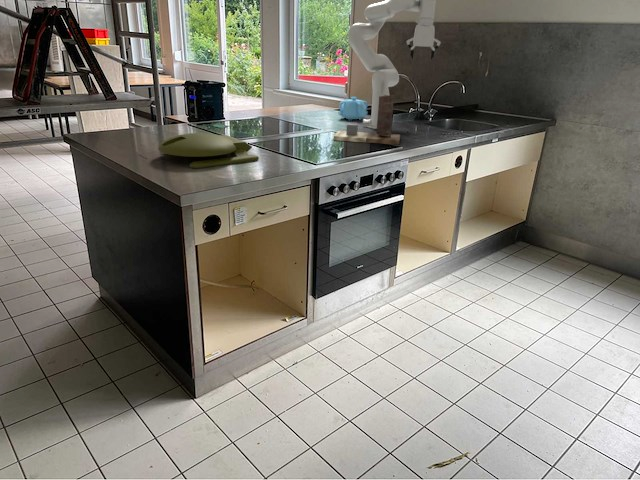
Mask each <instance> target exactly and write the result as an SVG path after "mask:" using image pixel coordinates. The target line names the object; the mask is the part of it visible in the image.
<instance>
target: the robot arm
mask: <svg viewBox="0 0 640 480" xmlns="http://www.w3.org/2000/svg"><path fill="white" fill-rule="evenodd" d="M436 2H437V0H384V1H380V2H377V3H373V4H370V5H368V6H367V7H366V8H365V10H364V12H363V13H364V18H365V19H366V20H367V21H368V23H366V22H365V23H364V22H356V23H354V24H352V25H351V26H350V28H349V31H348V37H347V38H348V39H347V40H348V43H349V45H350V47H351V49H352V50H353V51H354V52H355V54H356V55H357V57H358V58H359V60H360V62H361V63H362V65H363V66H364V67H365V69H366V70H367V71H368V72H370V73H373V74H372V77H371V86H372V95H371V96H372V97H371V98H372V99H371V111H370V112H371V114H370V119H362V123H363V124H367V128H368V129H374V130H377V119H378V105H379V96H384V95H389V96H390V91H389V90H390V89H389V88H392V87H395V86H397V84H398V83H399V82H400V75H399V72H398V70H397V68H396V67H395V66H394V64H393V62H392V61H391V60H390V58H389V57H388V56H386V55H385V54H383V53H376V52H375V51H374V49H373V48H372V47H371V45H370V44H369V43H368V42H367V41H371V40H373V39H375V38H376V36H377V35H378V33H379V32H380V30H381V29H382V28H383V26H384V24H385V23H386V21H387V20H388V19H392V18H393V17H394V16H395V15H396V14H397V13H401V12H406V11H407V12H415V13H418V18H417V19H415V21H414V22H415V23H416V25H415V29H414V33H413V37H411V38H410V39H407V40H406V45H407V47H408V48H409V50H410V55H409V57H411V59H413V58H414V52H415V51H414V49H415V48H416V47H421V48H422V47H423V48H424V47H426V48H427V47H428V48H430V49H431V52H430V60H433V58H434V56H435V51H437V49H438V48H440V45H441V43H442V42H441V41H440V40H439V39H437V38H435V25H434V19H435V18H434V17H435V11H436ZM410 42H412V43H413V44H412V45H411V43H410ZM434 43H437V44H436V45H435V46H434Z"/></svg>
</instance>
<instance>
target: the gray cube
mask: <svg viewBox="0 0 640 480" xmlns="http://www.w3.org/2000/svg"><path fill="white" fill-rule="evenodd" d="M358 127H359V124H358V123H349V122H347V124H346V130H345V131H346V135H355V136H356V135H357V132H358Z"/></svg>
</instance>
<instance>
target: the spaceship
mask: <svg viewBox="0 0 640 480" xmlns="http://www.w3.org/2000/svg"><path fill="white" fill-rule="evenodd" d="M252 149H253V146H252V145H250V144H249V143H248V142H246V141H243V140H241V139H238V138H235V137H233V136H229V135H227V134H221V135H220V134H214V133H205V132H193V133H184V134H183V133H182V134H178V135H174V136H171V137H169V138H166V139H164V140H163V141H162V142H160V143H159V145H158V151H159V152H161V153H162V154H165V155H167V156H177V157H189V158H191V157H192V158H193V157H196V158H197V157H198V158H199V157H200V158H201V157H203V158H204V157H214V156H215V157H217V156H223V155H228V157H221V158H214V159H206V160H198V161H192V162H191V163H189V167H190V168H191V169H194V170H195V169H196V170H197V169H205V168H212V167H220V166H229V165H237V164H243V163H244V164H245V163H252V162H257V161H258V160H260V157H259V156H258V155H256V154H249V153H248V152H249V151H250V150H252ZM229 156H230V157H229Z"/></svg>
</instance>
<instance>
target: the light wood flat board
mask: <svg viewBox="0 0 640 480" xmlns="http://www.w3.org/2000/svg"><path fill="white" fill-rule="evenodd" d="M346 131H347V130H337V132H336V133H335V134H334V135H333V140H334V141H341V142H342V141H343V142H352V143H353V142H355V143H366V144H367V143H370V144H384V145H397V146H398V145H400V141H401V140H400V139H401V134H397V133H396V134H393V133H391V137H387V136H380V135H377V134H376V133H377V132H363V131H357V135H356V136H355V135H346Z"/></svg>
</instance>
